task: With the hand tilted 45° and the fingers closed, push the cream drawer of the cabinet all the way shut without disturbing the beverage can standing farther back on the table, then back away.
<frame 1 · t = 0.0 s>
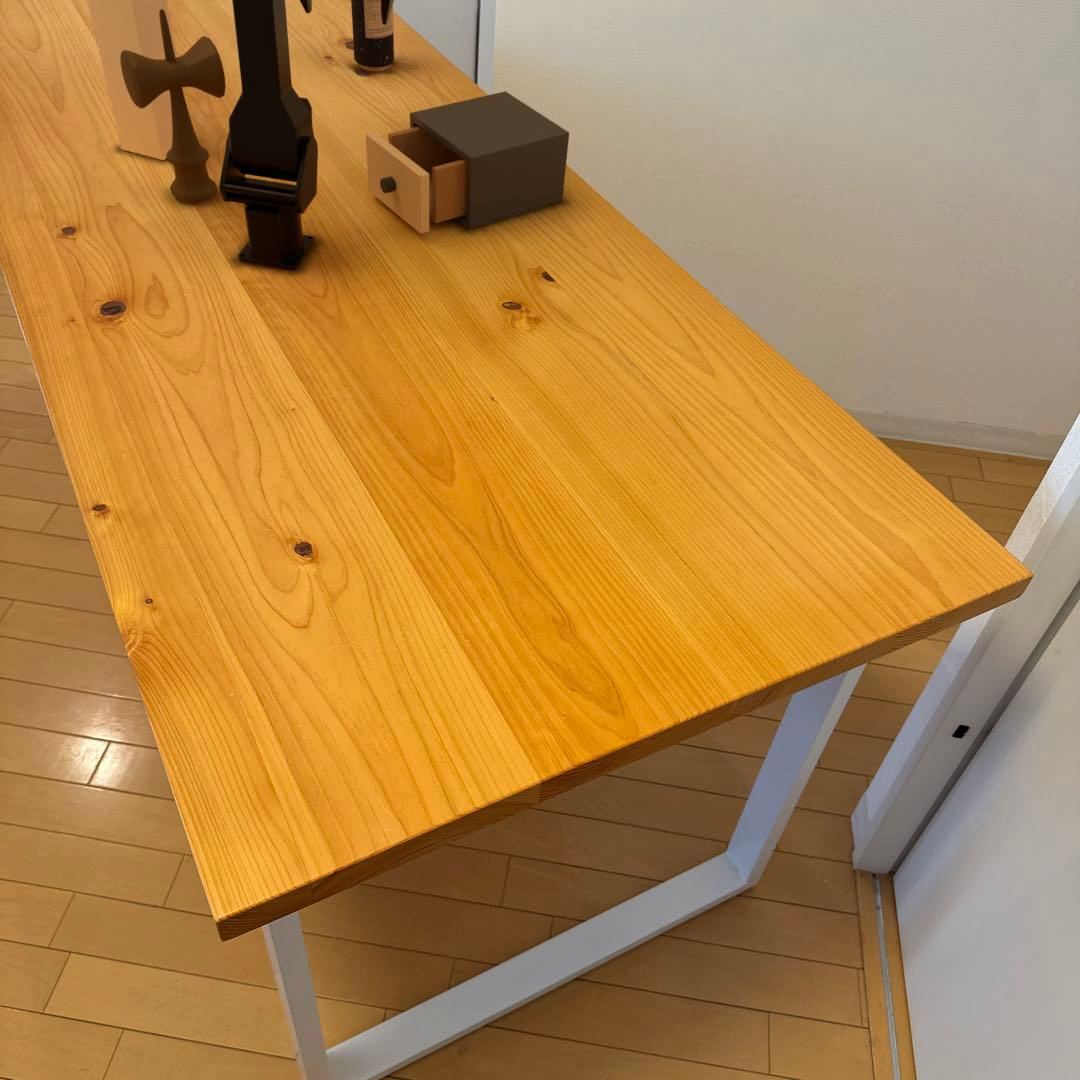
hand: (347, 17, 118), 15 cm above the table, tool pointing down, fingers open, 9 cm apart
drawer: (435, 172, 115), point 4 cm above the table, slide at 5.0 cm
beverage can: (374, 67, 145), on the table
cabinet: (486, 192, 122), on the table
kendama: (195, 196, 116), on the table
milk: (157, 147, 123), on the table
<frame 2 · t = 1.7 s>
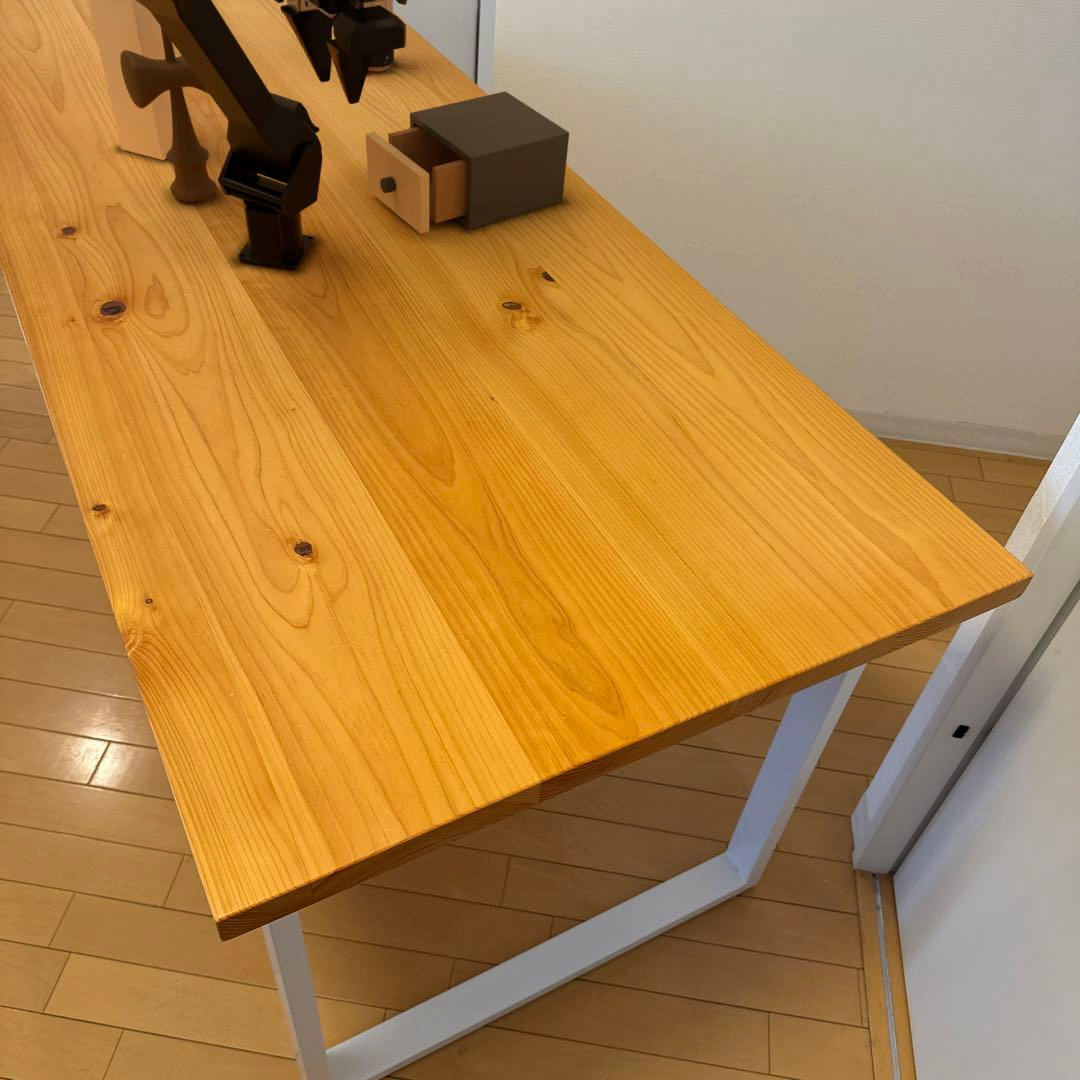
hand: (339, 92, 108), 13 cm above the table, tool pointing down, fingers open, 6 cm apart
nothing on the table moved.
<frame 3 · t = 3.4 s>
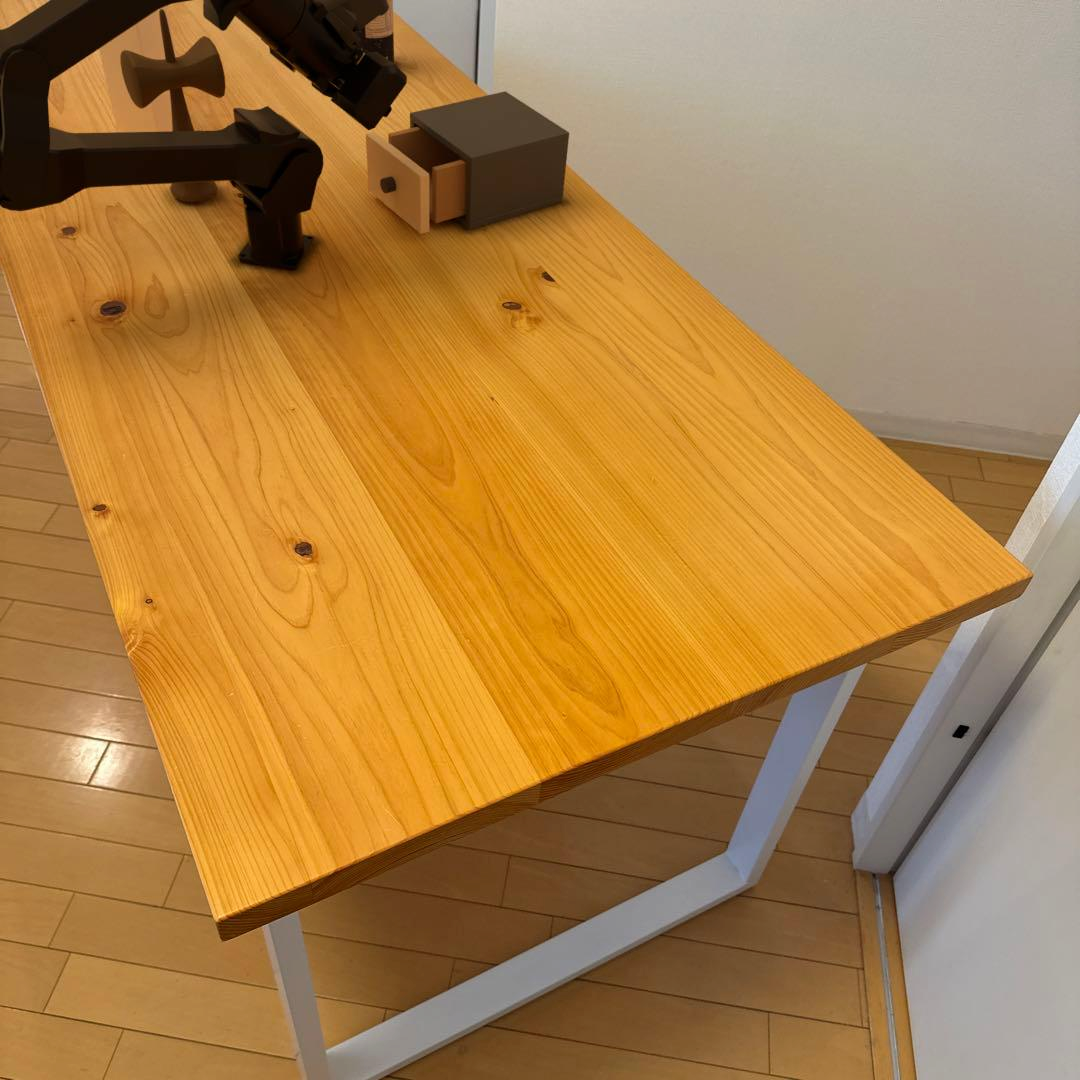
hand: (387, 112, 107), 12 cm above the table, tool tilted 45°, fingers closed
nothing on the table moved.
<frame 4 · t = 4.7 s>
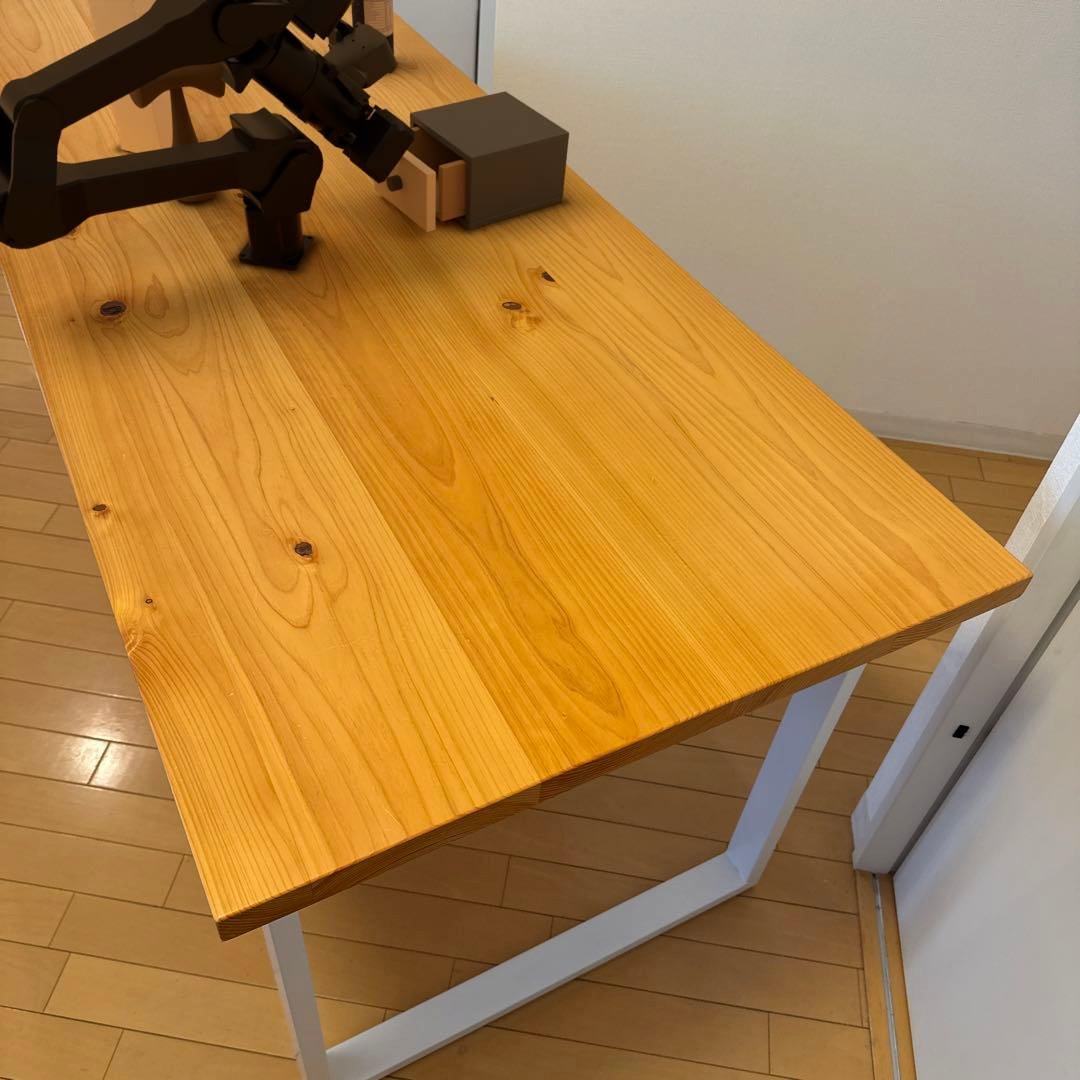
hand: (396, 160, 111), 7 cm above the table, tool tilted 45°, fingers closed
drawer: (441, 170, 115), point 4 cm above the table, slide at 4.2 cm, touching gripper
everything else where it was.
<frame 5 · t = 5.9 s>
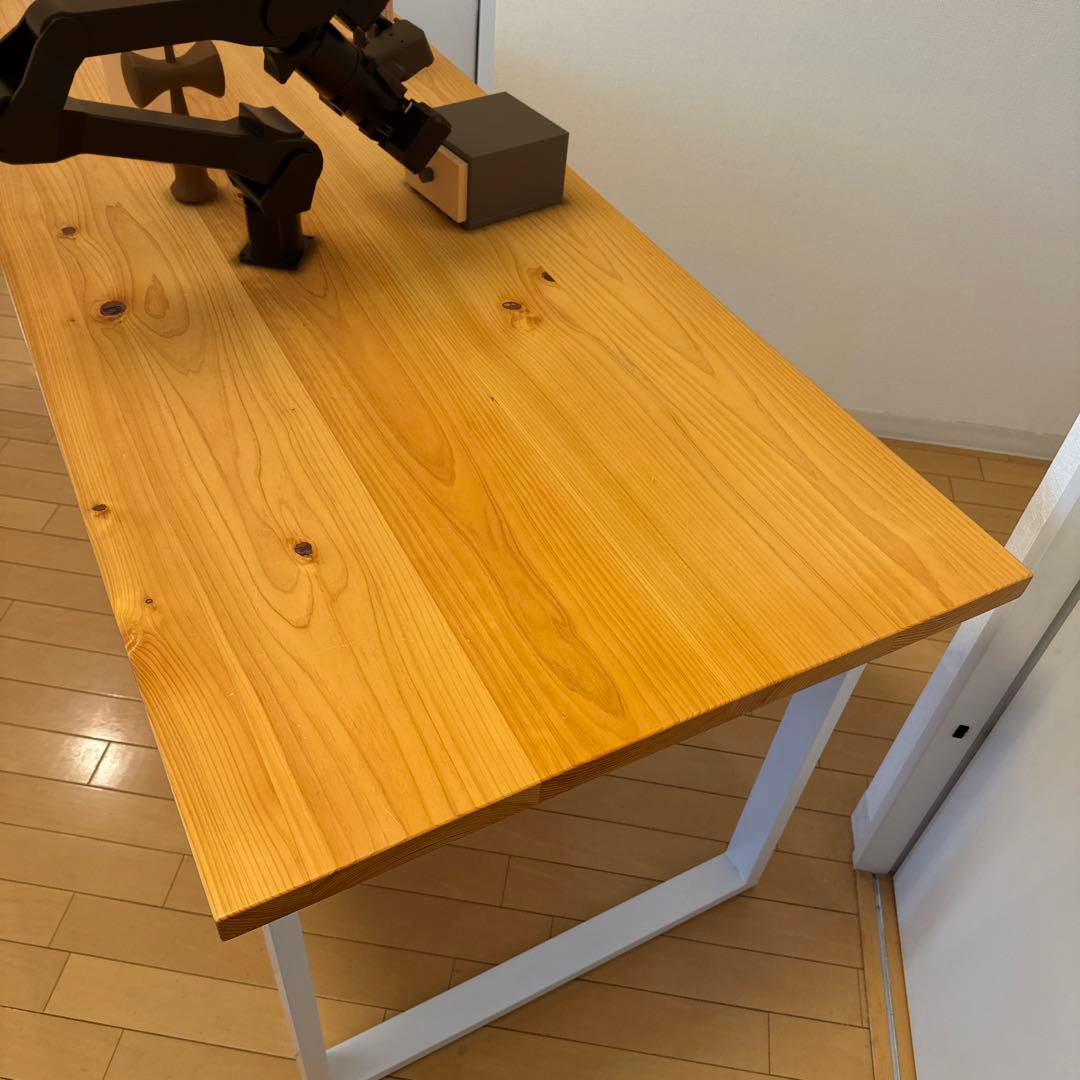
hand: (428, 154, 113), 7 cm above the table, tool tilted 45°, fingers closed, pressing on drawer
drawer: (471, 163, 117), point 4 cm above the table, slide at 0.0 cm, touching cabinet, gripper
everything else where it was.
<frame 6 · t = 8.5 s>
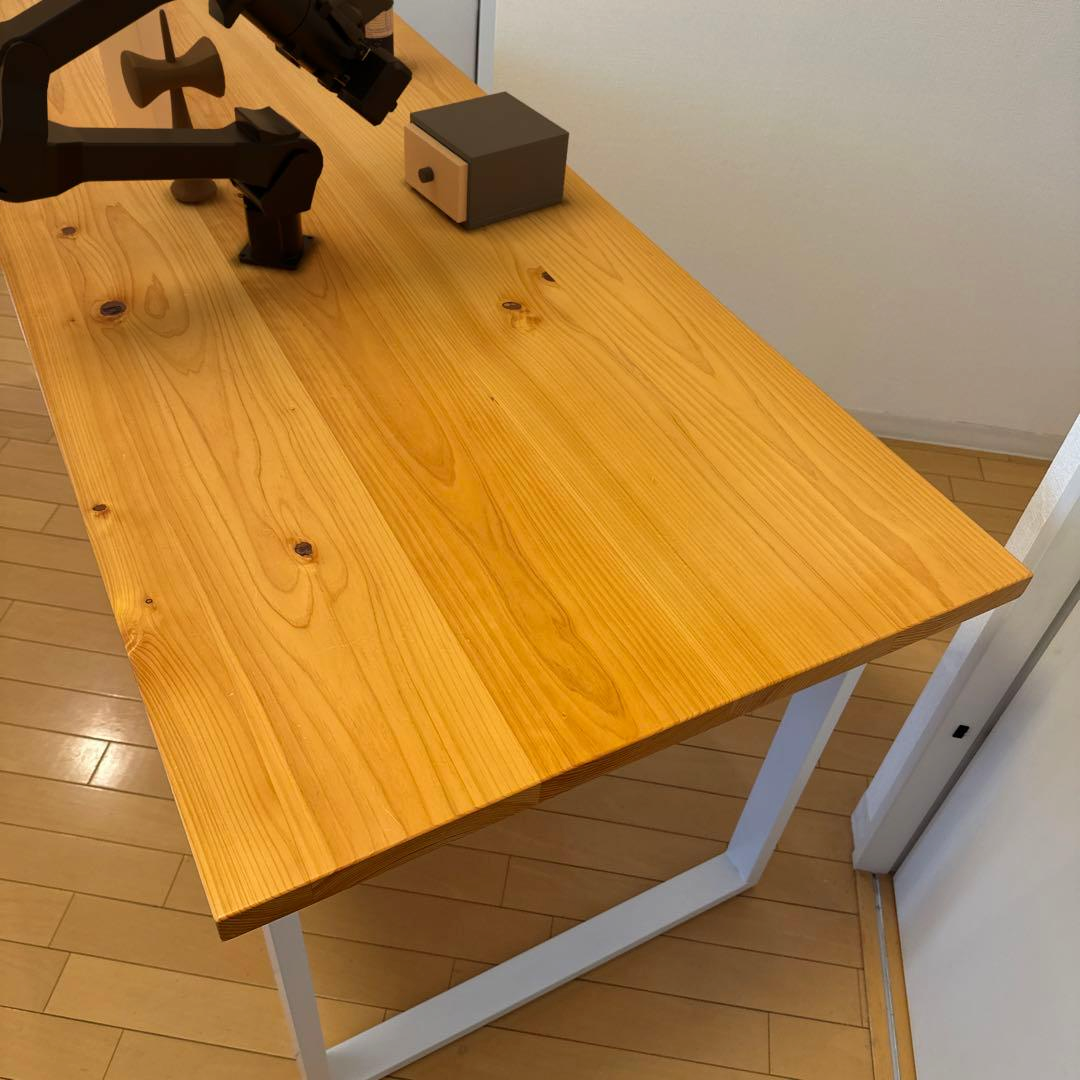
hand: (393, 107, 107), 13 cm above the table, tool tilted 45°, fingers closed
drawer: (471, 163, 117), point 4 cm above the table, slide at 0.0 cm, touching cabinet
everything else where it was.
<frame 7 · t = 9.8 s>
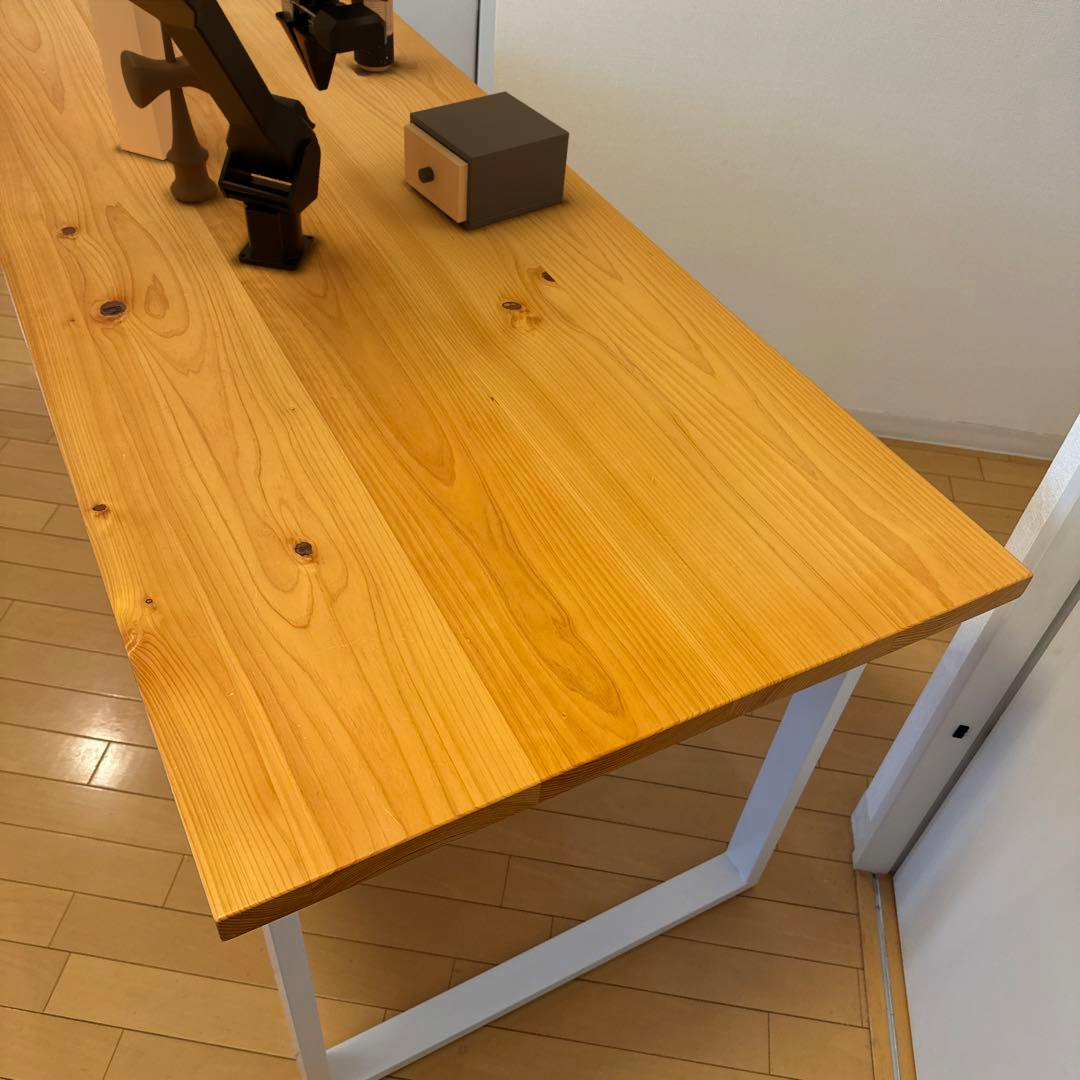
hand: (321, 89, 108), 13 cm above the table, tool pointing down, fingers closed
nothing on the table moved.
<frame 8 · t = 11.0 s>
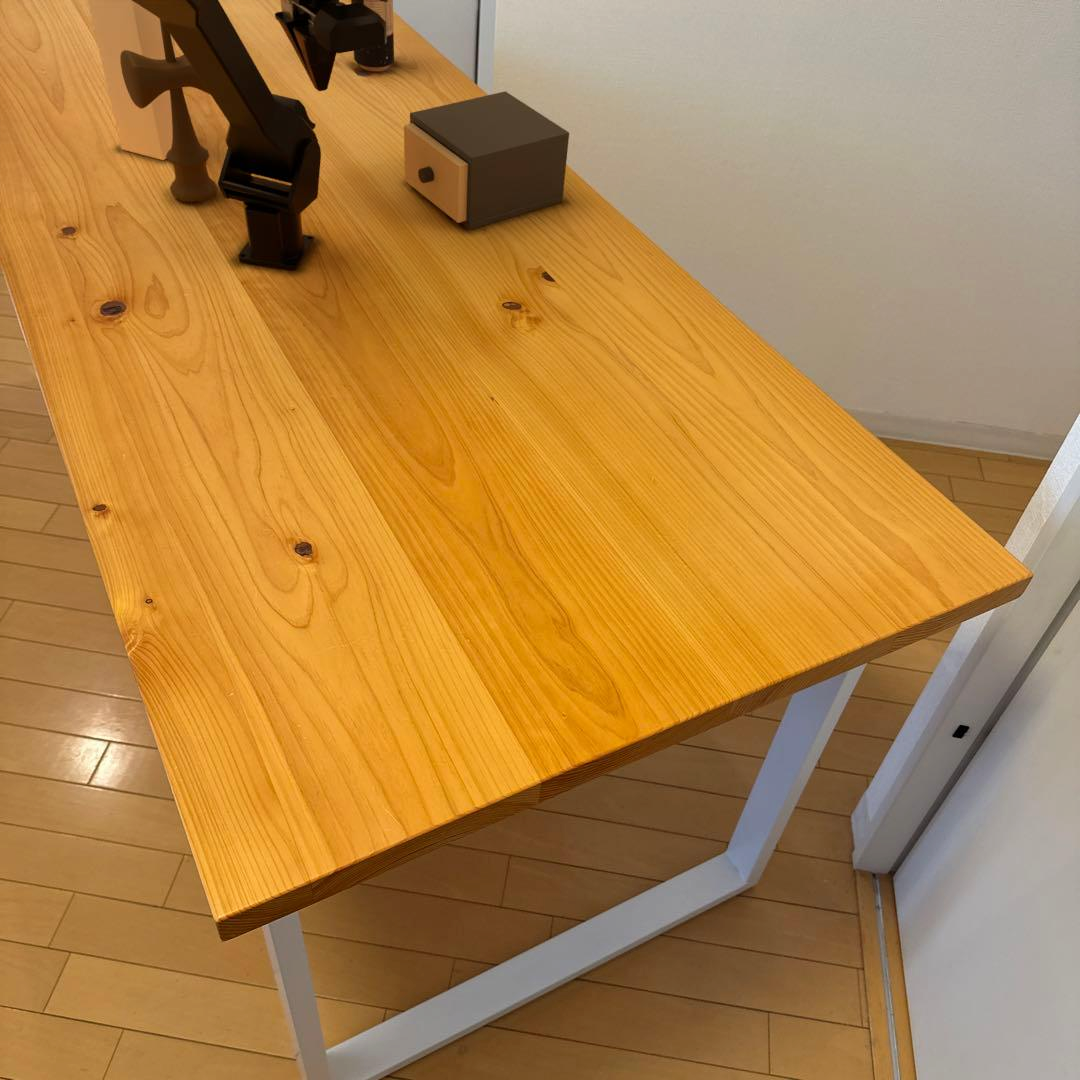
hand: (321, 89, 108), 13 cm above the table, tool pointing down, fingers closed
nothing on the table moved.
at the end: drawer slide at 0.0 cm; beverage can moved 0.2 cm from its start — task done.
